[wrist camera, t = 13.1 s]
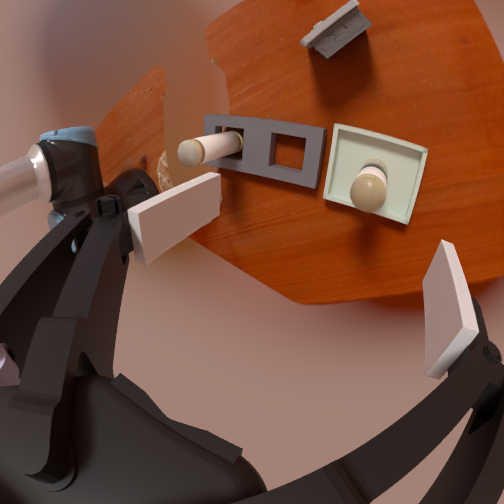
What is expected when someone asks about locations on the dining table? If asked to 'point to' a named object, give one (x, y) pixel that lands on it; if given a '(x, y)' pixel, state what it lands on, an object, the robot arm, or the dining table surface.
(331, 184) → the parts tray
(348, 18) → the electrical switch
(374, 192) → the fuse
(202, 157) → the fuse
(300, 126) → the fuse block
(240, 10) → the dining table surface
